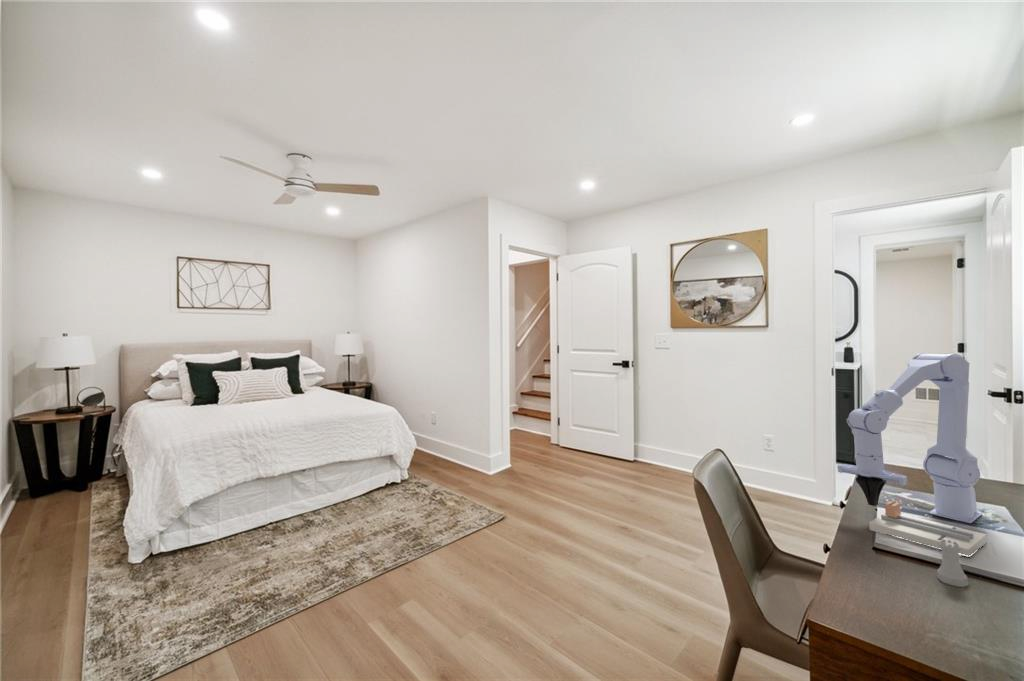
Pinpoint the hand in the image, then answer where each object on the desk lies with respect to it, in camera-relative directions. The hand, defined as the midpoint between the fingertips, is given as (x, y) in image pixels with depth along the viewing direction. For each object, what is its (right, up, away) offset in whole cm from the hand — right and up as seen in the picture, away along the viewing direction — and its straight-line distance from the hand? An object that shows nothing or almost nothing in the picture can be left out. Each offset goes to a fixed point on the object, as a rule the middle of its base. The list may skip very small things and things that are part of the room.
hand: (873, 504), depth 113 cm
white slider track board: (+5, -4, -9) cm, 11 cm away
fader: (+2, -2, -4) cm, 5 cm away
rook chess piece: (-7, -5, -27) cm, 29 cm away
